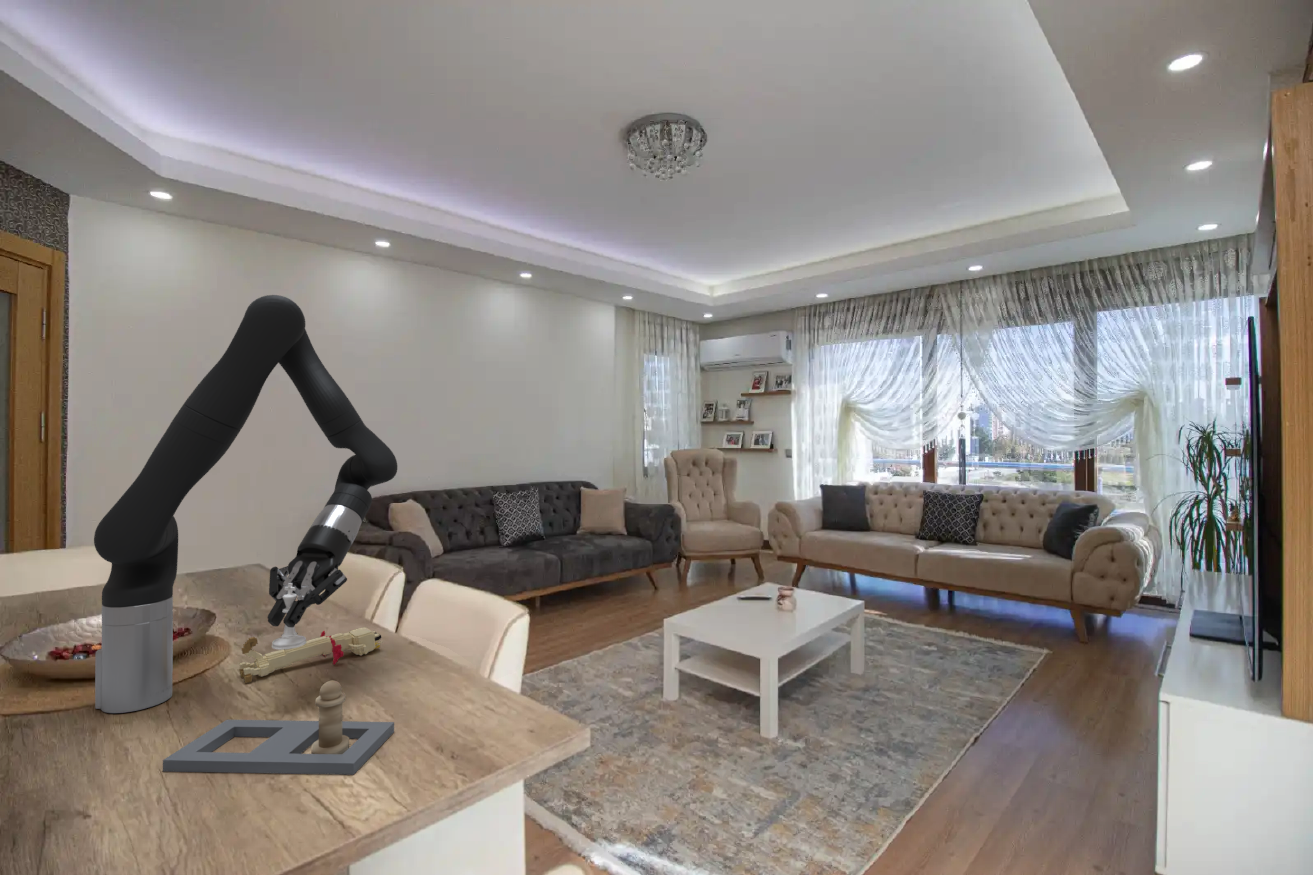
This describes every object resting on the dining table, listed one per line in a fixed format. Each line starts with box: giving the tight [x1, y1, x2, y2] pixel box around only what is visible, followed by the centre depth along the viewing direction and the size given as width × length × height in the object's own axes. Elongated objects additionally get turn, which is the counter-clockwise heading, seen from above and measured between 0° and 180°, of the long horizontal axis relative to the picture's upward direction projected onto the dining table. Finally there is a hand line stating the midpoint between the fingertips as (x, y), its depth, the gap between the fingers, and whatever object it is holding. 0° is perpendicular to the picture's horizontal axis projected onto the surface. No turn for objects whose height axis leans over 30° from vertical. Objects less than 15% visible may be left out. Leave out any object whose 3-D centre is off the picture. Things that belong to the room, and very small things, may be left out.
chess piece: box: [271, 583, 307, 651], centre depth 101 cm, size 5×5×10 cm
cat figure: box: [238, 626, 385, 684], centre depth 123 cm, size 10×9×25 cm
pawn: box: [310, 680, 350, 754], centre depth 89 cm, size 5×5×10 cm
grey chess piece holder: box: [162, 719, 395, 776], centre depth 89 cm, size 26×12×2 cm, turn 89°
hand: (280, 624), depth 99 cm, fingers closed on chess piece
